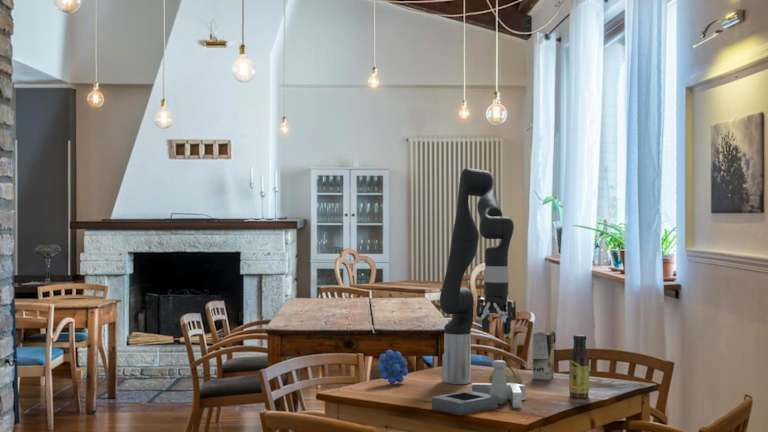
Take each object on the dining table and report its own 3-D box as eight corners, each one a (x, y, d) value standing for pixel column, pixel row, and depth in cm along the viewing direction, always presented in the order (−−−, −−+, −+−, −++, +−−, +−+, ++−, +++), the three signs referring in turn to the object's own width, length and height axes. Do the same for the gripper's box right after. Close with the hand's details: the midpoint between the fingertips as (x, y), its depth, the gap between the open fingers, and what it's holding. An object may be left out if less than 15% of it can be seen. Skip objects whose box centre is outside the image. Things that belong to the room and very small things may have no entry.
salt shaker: (508, 405, 253) (508, 362, 254) (489, 404, 255) (489, 361, 255) (509, 401, 259) (509, 359, 259) (490, 400, 260) (490, 358, 261)
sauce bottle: (566, 394, 270) (566, 333, 270) (585, 394, 270) (585, 333, 270) (572, 399, 263) (572, 336, 263) (592, 398, 264) (591, 335, 264)
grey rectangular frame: (431, 408, 248) (431, 396, 248) (469, 401, 258) (469, 390, 258) (460, 415, 239) (460, 403, 239) (497, 407, 249) (497, 396, 249)
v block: (517, 408, 248) (517, 393, 249) (468, 397, 264) (468, 383, 264) (543, 403, 256) (543, 388, 256) (494, 393, 272) (494, 379, 272)
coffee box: (550, 380, 296) (550, 335, 297) (532, 379, 298) (532, 334, 299) (554, 376, 305) (554, 332, 305) (536, 375, 307) (536, 331, 307)
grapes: (382, 387, 282) (382, 352, 282) (374, 384, 288) (374, 349, 288) (413, 384, 287) (413, 350, 287) (404, 381, 293) (404, 347, 293)
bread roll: (509, 386, 285) (509, 362, 286) (529, 394, 271) (529, 369, 271) (483, 387, 283) (483, 364, 283) (502, 396, 268) (502, 371, 268)
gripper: (521, 281, 255) (521, 334, 255) (487, 279, 266) (487, 329, 266) (505, 282, 250) (505, 336, 250) (471, 279, 261) (470, 331, 261)
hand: (495, 332), depth 258 cm, fingers open, 8 cm apart
